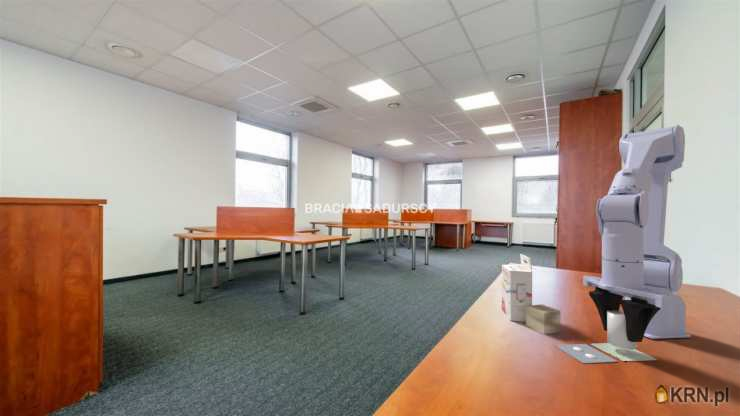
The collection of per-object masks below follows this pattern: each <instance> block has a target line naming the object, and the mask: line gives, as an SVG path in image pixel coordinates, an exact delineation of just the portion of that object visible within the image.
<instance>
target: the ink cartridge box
mask: <svg viewBox="0 0 740 416" xmlns="http://www.w3.org/2000/svg"><path fill="white" fill-rule="evenodd" d="M519 258H520V265H519V264H501V310H502V311H503V313H504V314H505V316H506V317H507V319H508V320H510V322H521V323H526V306H530V305H533V268H532V259H531V257H528V256H527V255H525V254H523V253H520V254H519ZM525 261H526V262H527V263H526V262H525Z"/></svg>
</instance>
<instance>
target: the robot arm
mask: <svg viewBox="0 0 740 416" xmlns="http://www.w3.org/2000/svg"><path fill="white" fill-rule="evenodd" d="M685 137H686V136H685V130H684V128H683V126H681V125H680V124H675V125H674V126H668V127H663V128H656V129H650V130H645V131H638V132H633V133H624V134H622V136H621V137H620V139H619V145H618V146H619V148H618V149H619V155H620V158H621V159H622V161H623V164H624V168H623V169H621V170H619V171H618V172H617V173H615V175H614V177H613V180H612V181H611V182H612V183H611V185H610V187H609V189H608V192H607V195H604V196H603V197H601V198H599V199H598V200H597V203H596V208H595V211H596V213H595V214H596V219H597V223H598V232H599V234H600V235H601V277H598V276H593V275H583V276H582V280H583V282H582V285H583V286H585V287H592V288H595V289H593V290H589V291H588V295H589V296H590V298H591V300H592V301H593V303H594V305H595V307H596V309H597V311H598V315H599V317H600V320H601V324H602V328H603V330H604V331H606V332H607V311H608V310H618V311H620V308H622V311H624V315H625V320H626V334H627V339H628V341H630V342H637V343H642V341H643V340H644V337H646V338H648V339H653V340H654V339H656V340H657V339H677V338H678V339H681V338H684V339H685V338H691V337H692V335H691V334H690V333H687V324H686V323H687V317H686V316H687V310H686V309H687V308H686V307H687V306H686V302H685V300H684V299H683V297H682V296H681V295H680V294H678V293H677V292H678V291H680V290H681V289H682V287H683V286H682V285H683V278H684V276H683V275H684V274H683V273H684V272H683V266H682V265H683V263H682V261H683V260H682V258H681V256H680V254H679V253H678V252H676V251H674V250H673V249H671V248H670V247H668V246H666V245H665V231H666V229H665V228H666V215H667V199H668V187H669V186H668V185H669V182H670V181H669V180H670V178H671V175H672V172H674V171H676V170H679V169H680V168H682V167H683V162H684V161H685V149H686V138H685ZM623 298H624V299H623Z"/></svg>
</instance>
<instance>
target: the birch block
mask: <svg viewBox="0 0 740 416" xmlns="http://www.w3.org/2000/svg"><path fill="white" fill-rule="evenodd" d="M561 314H562V312H561V310H559V309H556V308H554V307H550V306H548V305H545V304H532V305H530V306H526V322H525V325H526V327H528V328H530V329H532V330H534V331H537V332H538V333H540V334H543V335H545V334H546V335H548V334H549V335H550V334H555V333H561V326H562V325H561V324H562V323H561V322H562V321H561V316H562V315H561Z"/></svg>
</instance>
